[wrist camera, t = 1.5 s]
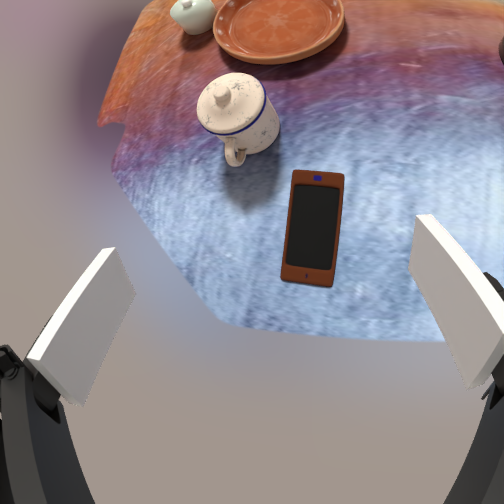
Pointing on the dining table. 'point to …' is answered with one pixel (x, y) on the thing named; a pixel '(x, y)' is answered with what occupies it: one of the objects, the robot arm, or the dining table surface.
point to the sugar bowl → (194, 15)
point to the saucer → (277, 28)
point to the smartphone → (313, 227)
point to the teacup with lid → (238, 115)
